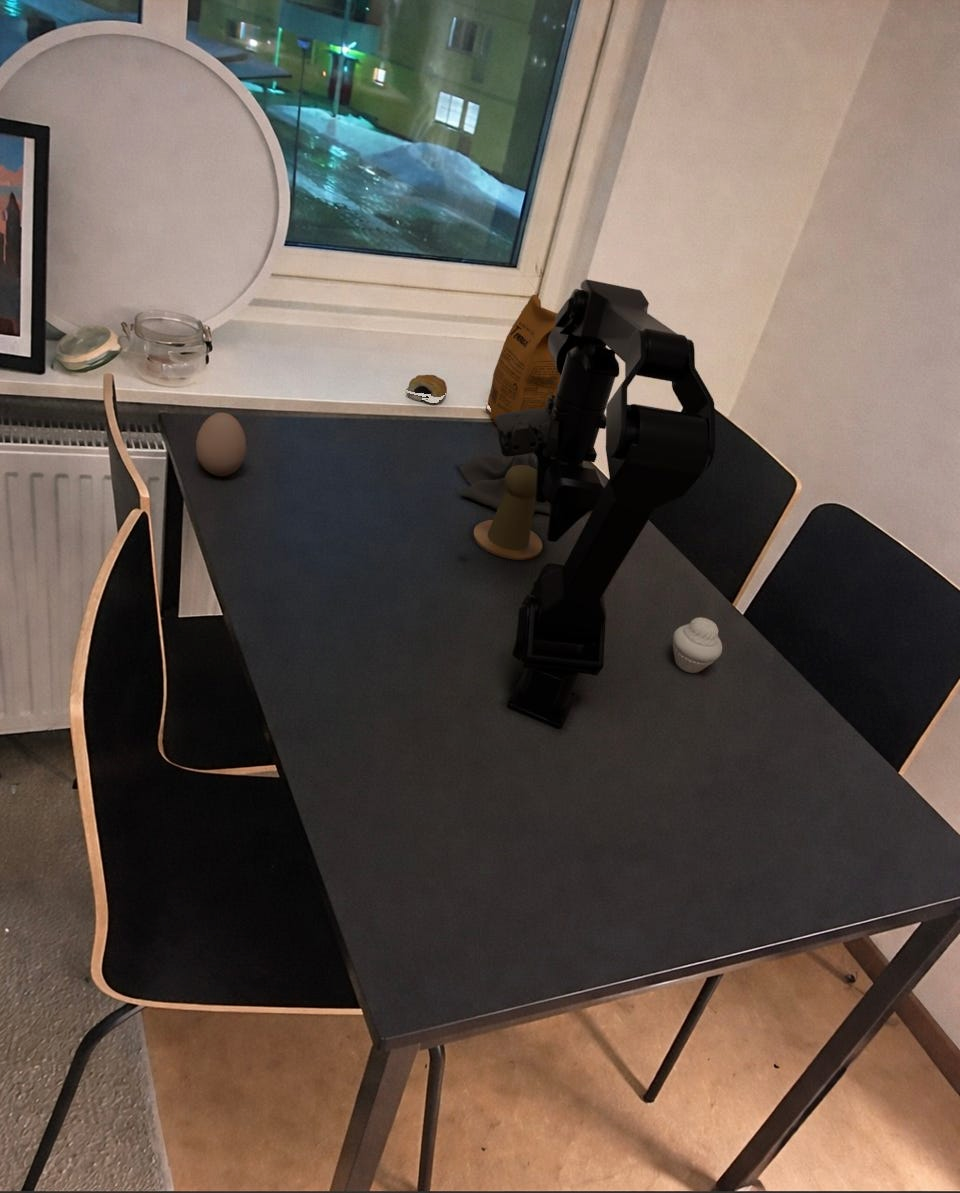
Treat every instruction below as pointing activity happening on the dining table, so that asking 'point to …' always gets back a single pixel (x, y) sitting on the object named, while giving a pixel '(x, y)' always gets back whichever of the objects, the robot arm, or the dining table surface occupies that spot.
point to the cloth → (494, 479)
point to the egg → (221, 444)
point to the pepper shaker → (515, 509)
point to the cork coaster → (485, 543)
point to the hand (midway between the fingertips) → (545, 520)
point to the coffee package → (525, 364)
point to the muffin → (696, 645)
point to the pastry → (427, 387)
